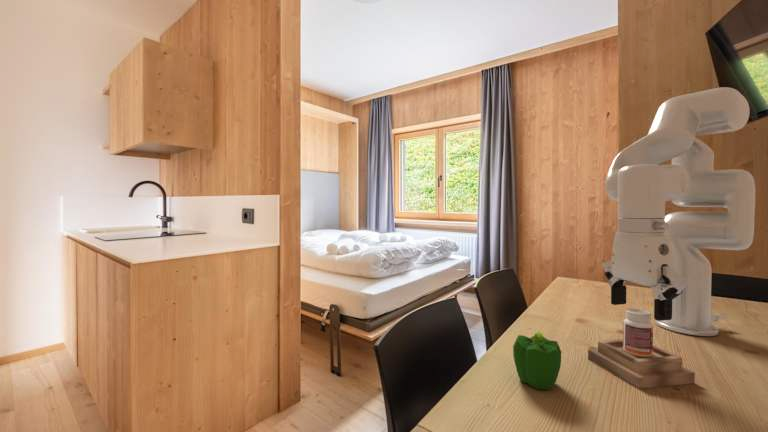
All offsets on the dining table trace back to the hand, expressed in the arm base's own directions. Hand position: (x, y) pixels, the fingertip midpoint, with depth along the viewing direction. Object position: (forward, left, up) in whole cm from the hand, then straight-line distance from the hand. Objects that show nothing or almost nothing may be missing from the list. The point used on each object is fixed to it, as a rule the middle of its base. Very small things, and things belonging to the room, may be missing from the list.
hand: (639, 311), depth 67 cm
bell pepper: (+23, +1, -12) cm, 26 cm away
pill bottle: (0, 0, -9) cm, 9 cm away
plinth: (0, 0, -12) cm, 12 cm away
